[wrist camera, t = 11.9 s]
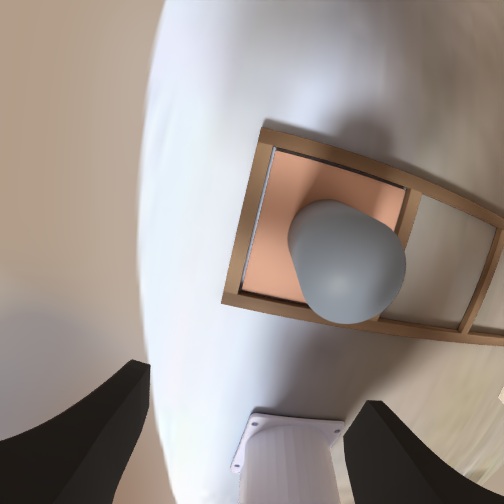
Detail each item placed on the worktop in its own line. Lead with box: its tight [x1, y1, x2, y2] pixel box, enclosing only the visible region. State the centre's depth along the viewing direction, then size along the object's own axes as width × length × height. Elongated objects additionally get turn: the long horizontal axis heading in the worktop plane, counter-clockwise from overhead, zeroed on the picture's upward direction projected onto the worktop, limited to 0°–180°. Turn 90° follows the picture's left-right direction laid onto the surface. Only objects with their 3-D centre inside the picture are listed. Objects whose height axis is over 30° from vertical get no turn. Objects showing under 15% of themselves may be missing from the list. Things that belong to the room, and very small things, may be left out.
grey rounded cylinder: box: [287, 199, 406, 324], centre depth 14 cm, size 4×4×6 cm
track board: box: [221, 127, 504, 346], centre depth 17 cm, size 10×28×1 cm, turn 77°
